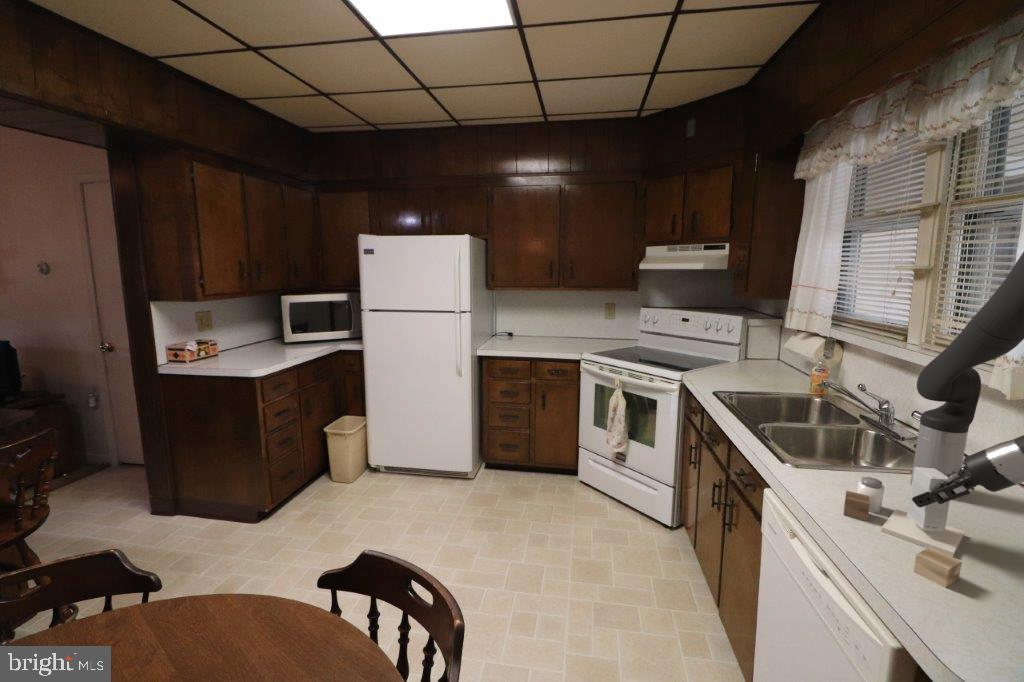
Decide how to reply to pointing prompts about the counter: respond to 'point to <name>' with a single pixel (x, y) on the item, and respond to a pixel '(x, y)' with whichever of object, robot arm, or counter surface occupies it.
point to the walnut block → (856, 505)
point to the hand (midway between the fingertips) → (919, 497)
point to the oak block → (937, 567)
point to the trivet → (923, 533)
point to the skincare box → (933, 513)
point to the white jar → (872, 492)
